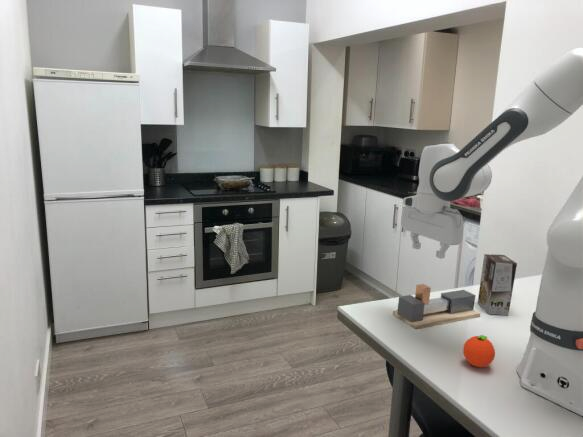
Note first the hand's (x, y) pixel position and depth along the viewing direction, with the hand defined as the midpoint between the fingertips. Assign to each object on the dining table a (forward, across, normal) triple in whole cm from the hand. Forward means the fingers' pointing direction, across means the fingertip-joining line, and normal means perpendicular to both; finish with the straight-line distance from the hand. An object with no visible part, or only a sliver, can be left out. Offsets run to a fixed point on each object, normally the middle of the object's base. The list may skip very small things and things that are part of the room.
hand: (427, 253), depth 130 cm
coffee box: (+20, -1, -27) cm, 33 cm away
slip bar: (+18, +1, -3) cm, 18 cm away
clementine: (+20, -24, +4) cm, 32 cm away
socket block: (+18, +1, +4) cm, 19 cm away
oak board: (+20, +1, -6) cm, 20 cm away
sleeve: (+19, +1, -14) cm, 23 cm away
